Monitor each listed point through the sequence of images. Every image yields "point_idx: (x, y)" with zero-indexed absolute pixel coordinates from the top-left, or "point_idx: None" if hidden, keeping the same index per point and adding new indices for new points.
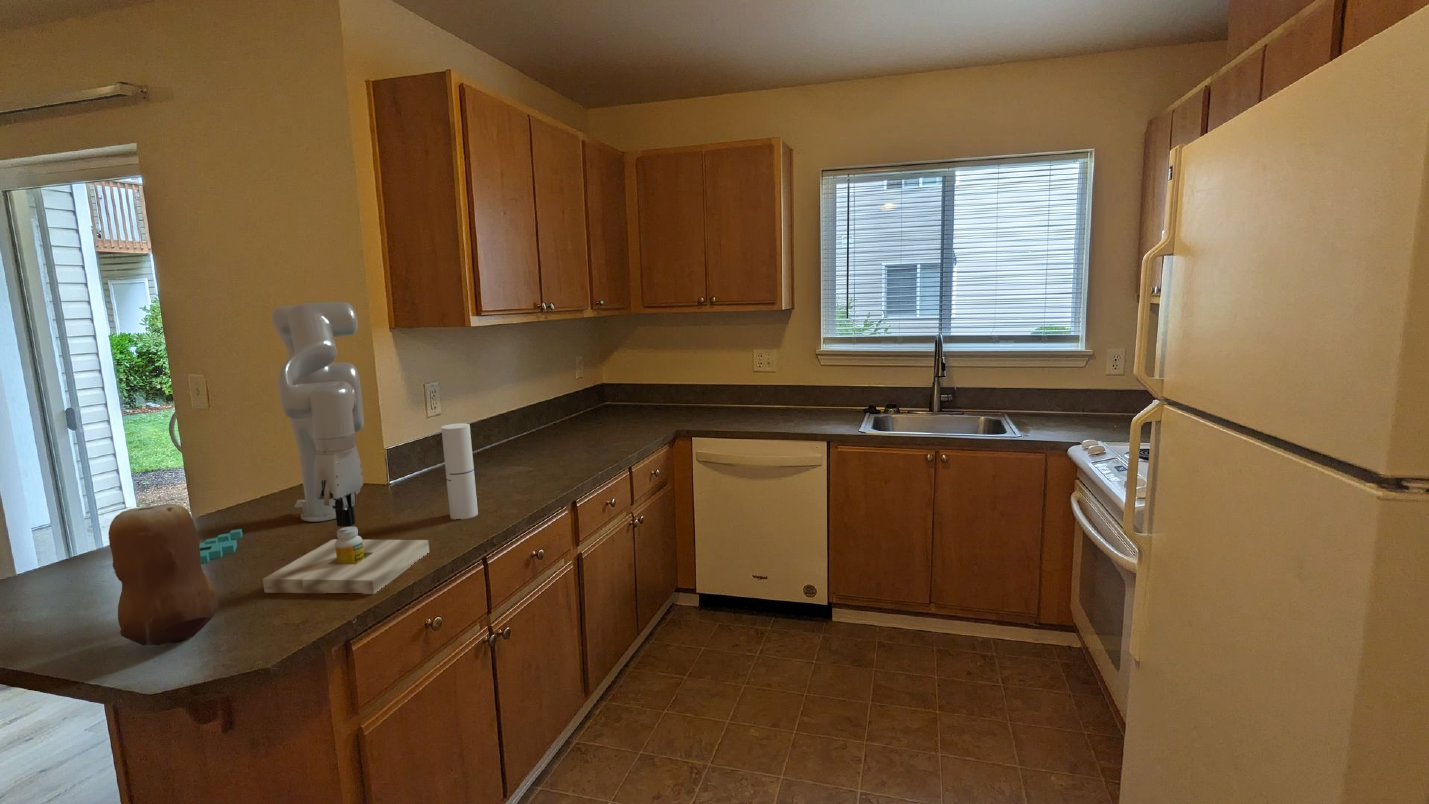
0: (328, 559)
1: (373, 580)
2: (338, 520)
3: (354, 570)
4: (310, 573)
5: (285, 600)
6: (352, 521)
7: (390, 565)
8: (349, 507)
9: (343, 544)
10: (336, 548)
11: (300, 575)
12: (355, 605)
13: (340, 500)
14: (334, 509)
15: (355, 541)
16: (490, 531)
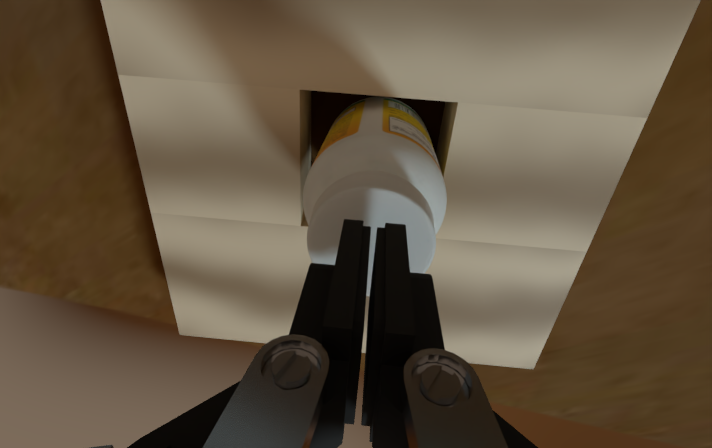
0: (361, 58)
1: (186, 333)
2: (305, 281)
3: (244, 249)
4: (184, 74)
5: (82, 24)
6: (367, 326)
7: None
8: (371, 425)
9: (307, 215)
10: (316, 158)
11: (152, 33)
12: (129, 286)
13: (414, 435)
14: (270, 350)
15: None
16: (661, 428)
